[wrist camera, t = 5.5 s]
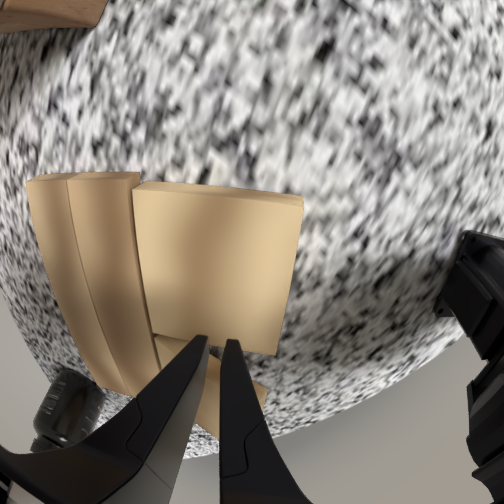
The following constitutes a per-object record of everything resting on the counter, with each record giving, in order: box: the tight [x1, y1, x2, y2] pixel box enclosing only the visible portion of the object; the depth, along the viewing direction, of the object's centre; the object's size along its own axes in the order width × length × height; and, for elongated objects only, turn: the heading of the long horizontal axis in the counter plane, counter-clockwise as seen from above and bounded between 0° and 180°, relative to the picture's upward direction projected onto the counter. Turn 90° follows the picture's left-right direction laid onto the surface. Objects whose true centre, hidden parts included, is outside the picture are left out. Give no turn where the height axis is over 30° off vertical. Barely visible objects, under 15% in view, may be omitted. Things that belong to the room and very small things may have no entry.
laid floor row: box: [25, 172, 162, 398], centre depth 18 cm, size 8×20×2 cm, turn 175°
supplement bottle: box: [30, 369, 105, 453], centre depth 21 cm, size 7×7×12 cm
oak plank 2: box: [154, 334, 268, 439], centre depth 18 cm, size 8×10×2 cm
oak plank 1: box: [132, 181, 304, 355], centre depth 15 cm, size 8×10×2 cm
